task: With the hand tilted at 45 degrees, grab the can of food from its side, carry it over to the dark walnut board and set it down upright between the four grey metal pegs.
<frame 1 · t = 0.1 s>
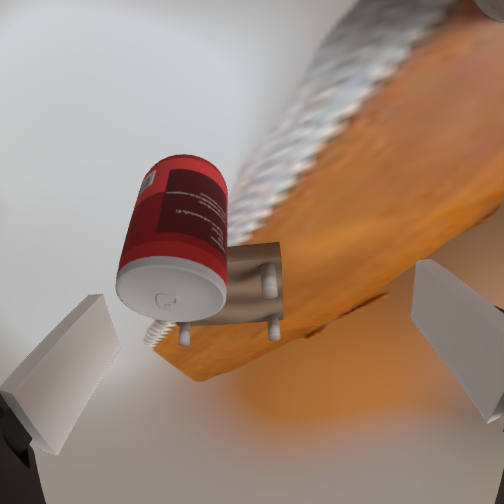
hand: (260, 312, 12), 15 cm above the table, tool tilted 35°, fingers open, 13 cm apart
canned food: (185, 186, 26), on the table
peg board: (219, 286, 40), on the table
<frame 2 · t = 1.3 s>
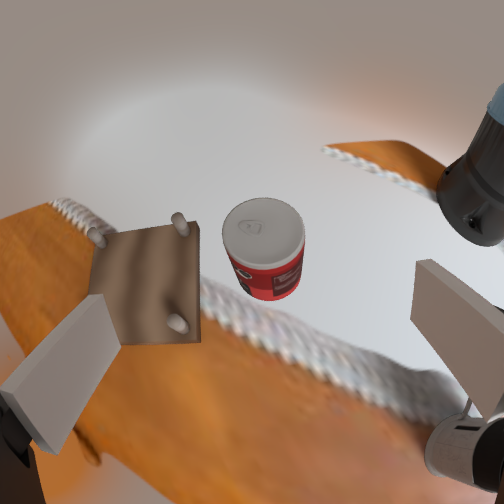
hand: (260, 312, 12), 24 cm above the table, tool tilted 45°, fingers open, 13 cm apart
canned food: (269, 274, 39), on the table
grey mug: (451, 427, 26), on the table
peg board: (143, 286, 39), on the table
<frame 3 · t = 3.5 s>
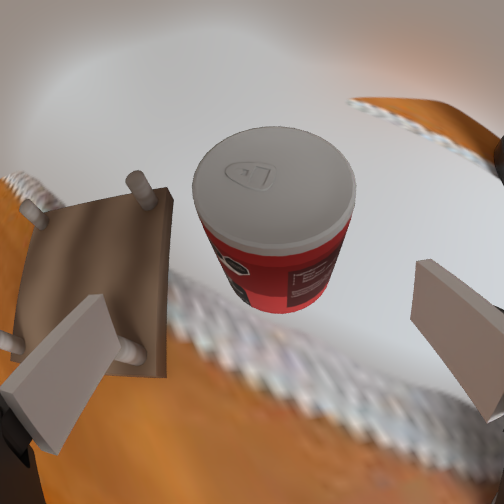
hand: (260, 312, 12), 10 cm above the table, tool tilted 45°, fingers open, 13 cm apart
canned food: (278, 270, 24), on the table
peg board: (89, 285, 25), on the table
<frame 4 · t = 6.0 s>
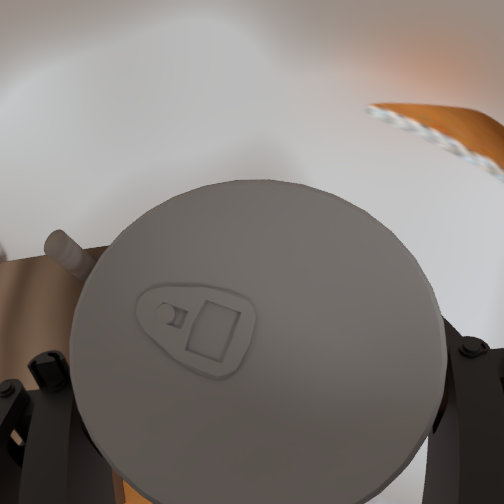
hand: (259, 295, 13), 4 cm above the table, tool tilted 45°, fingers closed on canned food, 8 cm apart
canned food: (270, 378, 15), on the table, touching gripper
peg board: (28, 370, 16), on the table
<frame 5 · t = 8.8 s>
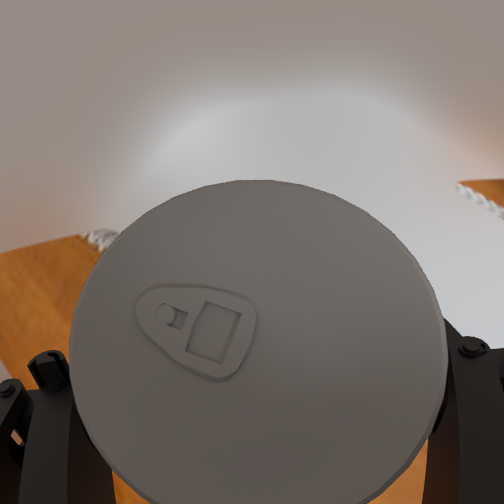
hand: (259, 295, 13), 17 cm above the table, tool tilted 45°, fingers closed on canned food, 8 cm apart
canned food: (270, 379, 15), point 13 cm above the table, touching gripper
when the fingers open (7 cm above the table, at t = 11.5 s): canned food drops 1 cm, resting on peg board.
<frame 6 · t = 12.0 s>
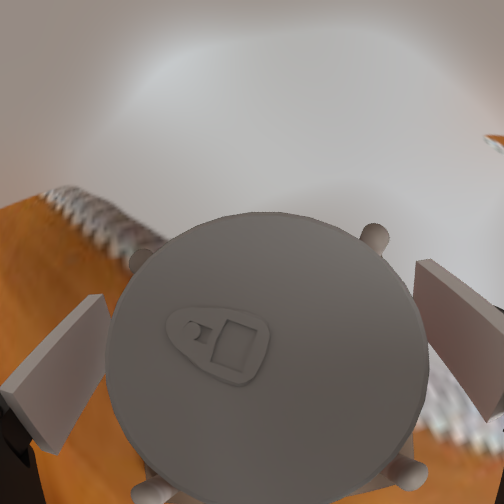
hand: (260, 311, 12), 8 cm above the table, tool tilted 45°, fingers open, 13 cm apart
canned food: (275, 380, 16), point 2 cm above the table, touching peg board
peg board: (272, 381, 18), on the table
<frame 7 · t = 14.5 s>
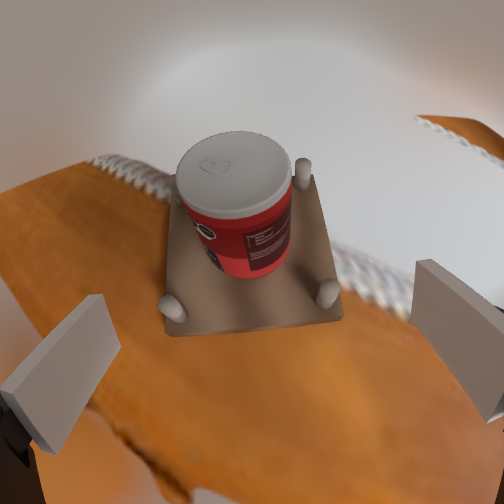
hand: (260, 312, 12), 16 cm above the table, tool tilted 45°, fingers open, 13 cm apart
canned food: (248, 246, 30), point 2 cm above the table, touching peg board
peg board: (248, 254, 31), on the table
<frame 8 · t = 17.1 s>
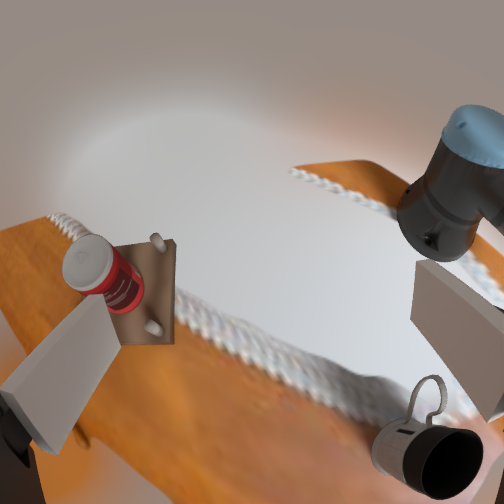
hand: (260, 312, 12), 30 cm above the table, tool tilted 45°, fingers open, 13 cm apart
canned food: (124, 291, 43), point 2 cm above the table, touching peg board
grey mug: (399, 430, 32), on the table
peg board: (128, 295, 45), on the table
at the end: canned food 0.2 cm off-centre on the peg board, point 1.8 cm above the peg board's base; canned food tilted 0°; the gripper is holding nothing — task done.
